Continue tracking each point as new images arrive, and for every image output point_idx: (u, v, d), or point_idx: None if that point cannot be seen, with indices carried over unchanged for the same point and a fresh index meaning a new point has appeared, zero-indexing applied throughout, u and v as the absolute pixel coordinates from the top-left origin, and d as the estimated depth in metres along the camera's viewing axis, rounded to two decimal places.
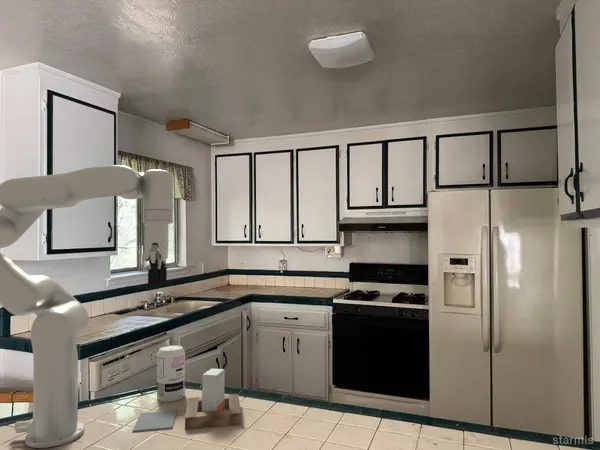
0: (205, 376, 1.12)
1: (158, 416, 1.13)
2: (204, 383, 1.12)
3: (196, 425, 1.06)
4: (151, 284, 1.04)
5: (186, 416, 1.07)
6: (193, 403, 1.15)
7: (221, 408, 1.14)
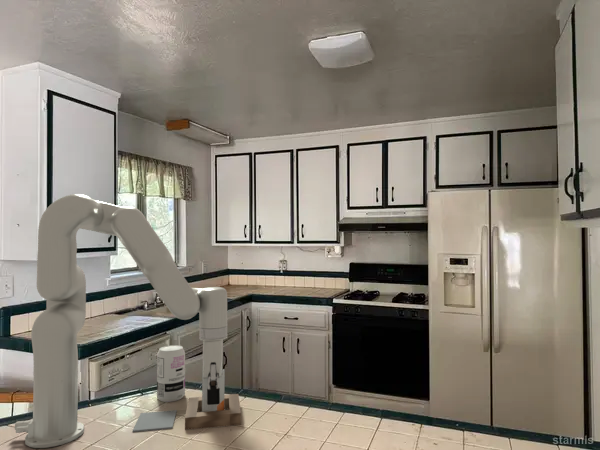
0: None
1: (158, 416, 1.13)
2: (204, 383, 1.12)
3: (196, 425, 1.06)
4: (210, 403, 1.10)
5: (186, 416, 1.07)
6: (193, 403, 1.15)
7: (221, 408, 1.14)
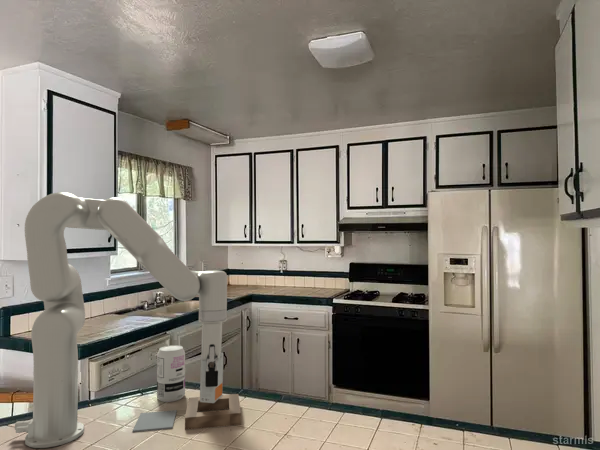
0: None
1: (158, 416, 1.13)
2: (203, 365, 1.12)
3: (196, 425, 1.06)
4: (208, 385, 1.10)
5: (186, 416, 1.07)
6: (193, 403, 1.15)
7: (219, 391, 1.14)
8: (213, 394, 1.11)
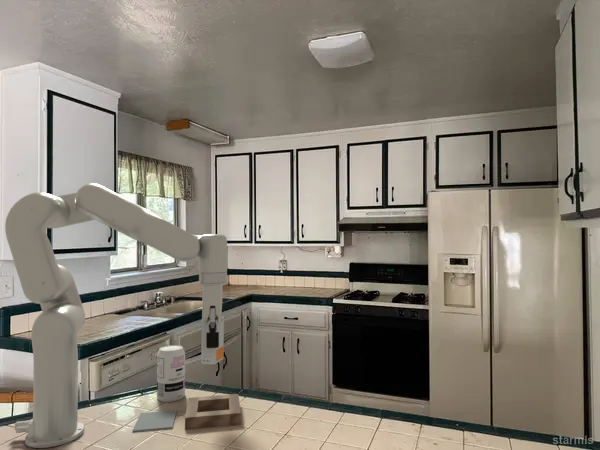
0: None
1: (158, 416, 1.13)
2: (203, 327, 1.12)
3: (196, 425, 1.06)
4: (209, 347, 1.11)
5: (186, 416, 1.07)
6: (193, 403, 1.15)
7: (220, 353, 1.15)
8: (214, 355, 1.11)
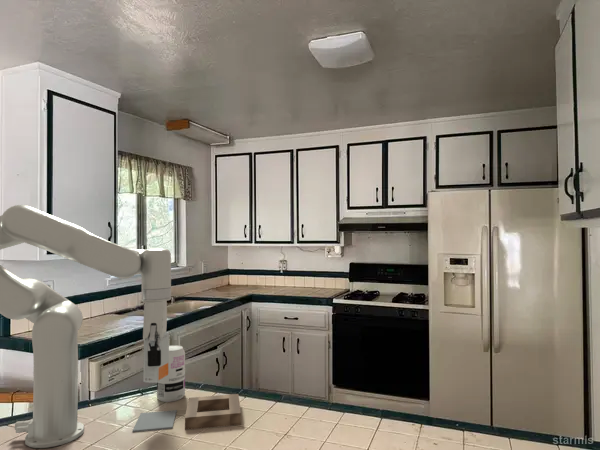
0: None
1: (158, 416, 1.13)
2: (145, 345, 1.09)
3: (196, 425, 1.06)
4: (151, 365, 1.08)
5: (186, 416, 1.07)
6: (193, 403, 1.15)
7: (164, 371, 1.12)
8: (156, 373, 1.09)
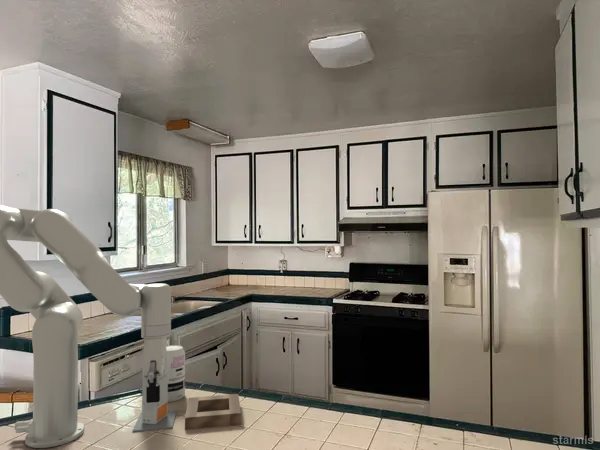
0: (145, 378, 1.09)
1: None
2: (144, 385, 1.09)
3: (196, 425, 1.06)
4: (149, 401, 1.06)
5: (186, 416, 1.07)
6: (193, 403, 1.15)
7: (163, 411, 1.12)
8: (155, 415, 1.08)
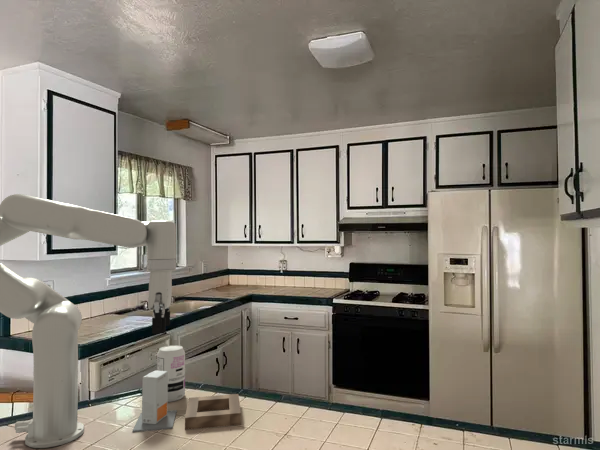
0: (145, 378, 1.09)
1: None
2: (144, 385, 1.09)
3: (196, 425, 1.06)
4: (155, 332, 1.08)
5: (186, 416, 1.07)
6: (193, 403, 1.15)
7: (163, 411, 1.12)
8: (155, 415, 1.08)
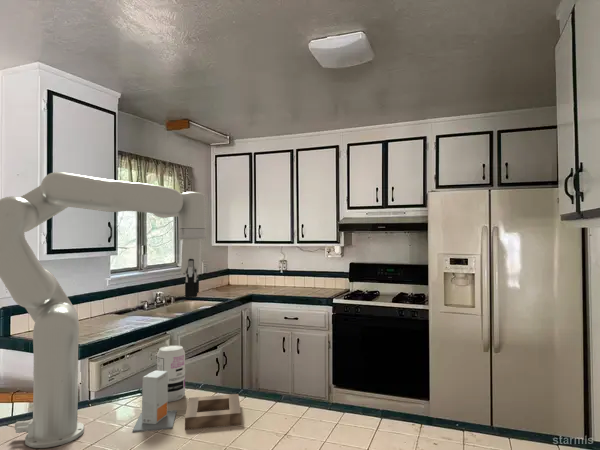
0: (145, 378, 1.09)
1: None
2: (144, 385, 1.09)
3: (196, 425, 1.06)
4: (188, 296, 1.15)
5: (186, 416, 1.07)
6: (193, 403, 1.15)
7: (163, 411, 1.12)
8: (155, 415, 1.08)
